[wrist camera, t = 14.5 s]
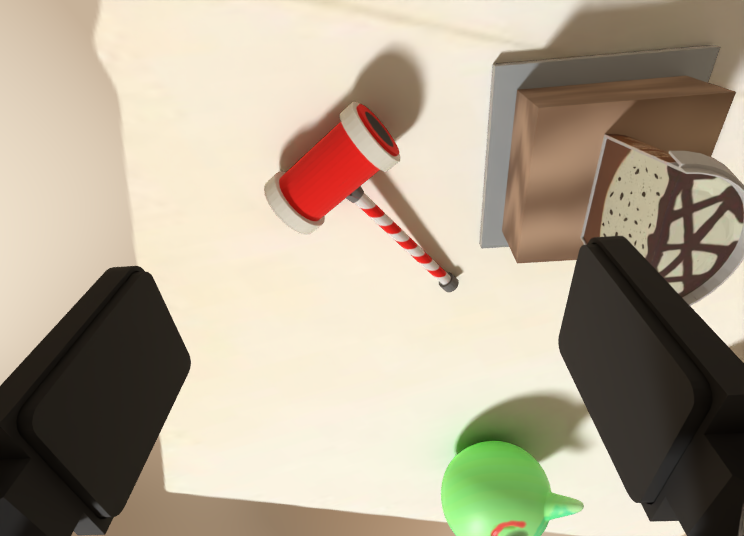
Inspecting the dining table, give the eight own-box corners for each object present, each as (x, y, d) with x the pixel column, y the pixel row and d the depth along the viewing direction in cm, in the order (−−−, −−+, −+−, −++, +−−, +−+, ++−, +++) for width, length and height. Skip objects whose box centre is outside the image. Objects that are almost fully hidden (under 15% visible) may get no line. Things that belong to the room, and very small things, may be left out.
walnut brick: (516, 89, 36) (538, 107, 31) (686, 75, 35) (735, 91, 30) (501, 231, 44) (517, 263, 39) (639, 222, 43) (673, 253, 38)
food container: (646, 248, 38) (719, 323, 30) (577, 252, 38) (630, 327, 30) (694, 107, 31) (808, 154, 23) (609, 114, 31) (690, 163, 23)
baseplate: (492, 64, 36) (495, 66, 35) (712, 45, 35) (720, 46, 34) (479, 243, 46) (481, 248, 45) (649, 232, 45) (654, 237, 44)
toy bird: (447, 417, 64) (463, 519, 52) (556, 423, 65) (597, 526, 52) (428, 479, 74) (438, 577, 62) (523, 485, 75) (550, 583, 63)
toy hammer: (494, 252, 47) (508, 287, 42) (412, 305, 52) (415, 342, 47) (356, 91, 38) (352, 110, 33) (270, 173, 42) (255, 201, 37)
